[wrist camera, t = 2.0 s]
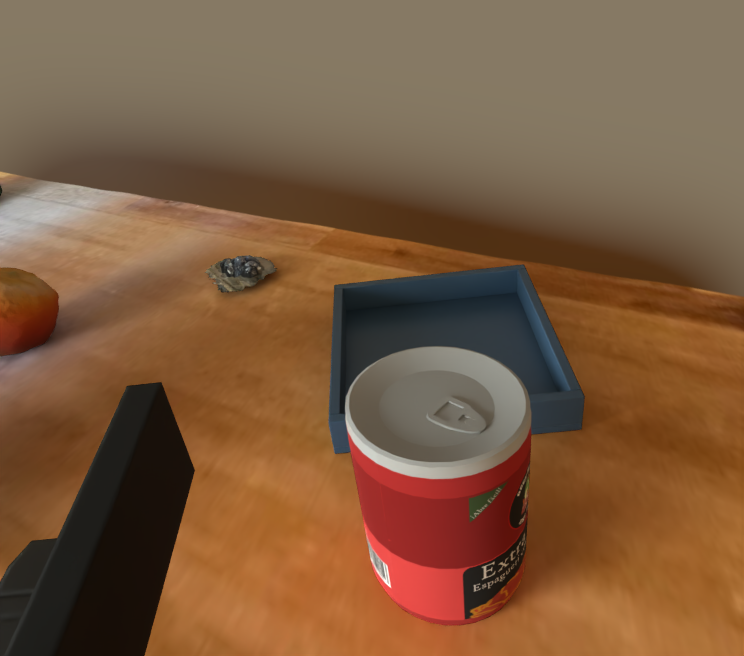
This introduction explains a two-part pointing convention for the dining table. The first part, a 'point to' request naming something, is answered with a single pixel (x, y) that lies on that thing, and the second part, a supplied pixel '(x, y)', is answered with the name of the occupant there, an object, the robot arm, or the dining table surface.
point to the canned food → (442, 479)
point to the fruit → (25, 311)
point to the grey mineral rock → (239, 272)
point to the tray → (454, 336)
